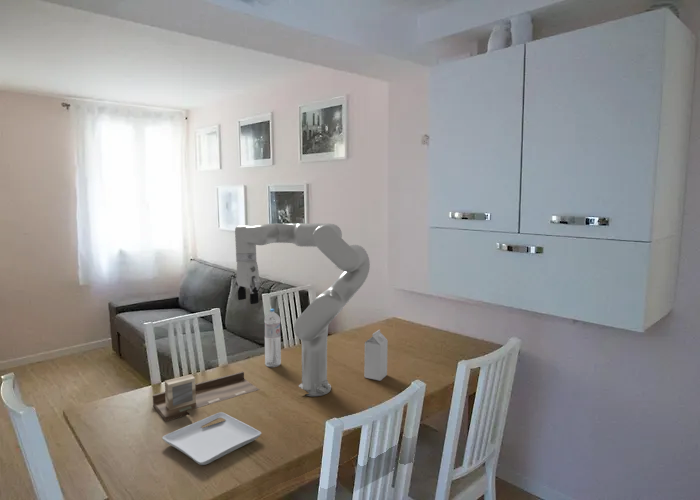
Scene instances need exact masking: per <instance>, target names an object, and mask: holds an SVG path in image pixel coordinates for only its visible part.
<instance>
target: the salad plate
mask: <svg viewBox="0 0 700 500" xmlns="http://www.w3.org/2000/svg"><path fill="white" fill-rule="evenodd" d="M218 419H223V421H220V422H217V423H214V424H210V425H207V424H209V423H211V422H213V421H214V420H218ZM205 425H207V426H205ZM203 426H204V427H203ZM261 435H262V432H261V431H260V430H259V429H256V428H254V427H253V426H252V425H249V424H247V423H245V422H243V421H241V420H239V419H237V418H235V417H233V416H231V415H229V414H227V413H225V412H223V411H220V412H216V413H215V414H212V415H209V416H207V417H205V418H203V419H201V420H198V421H196V422H193V423H191V424H189V425H186V426H183V427H181V428H179V429H177V430H173V431H172V432H169V433H167V434H165V435H163V436H162V437H161V439H162V440H163V441H164V442H165V443H166V444H167V445H169V446H171V447H173V448H175V449H177V450H178V451H180V452H182V454H184V455H186V456H187V457H188V458H190V459H191V460H193V461H194V462H195V463H197V464H198V465H200V466H206V465H208V464H210V463H212V462H214V461H216V460H219V459H221V458H222V457H224V456H226V455H228V454H230V453H231V452H234V451H235V450H237V449H240V448H242V447H244V446H246V445H248V444H250V443H251V442H254V441H255V440H257V439H258V438H259V437H260V436H261Z"/></svg>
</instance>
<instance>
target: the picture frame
mask: <svg viewBox="0 0 700 500" xmlns="http://www.w3.org/2000/svg"><path fill="white" fill-rule="evenodd" d="M195 384H196V378H195V376H194V375H193V374H185V375H183V376H182V375H181V376H180V377H173V378H171V379H166V380H164V392H165V399H166V407H167V408H168V409H169V410H172V409H175V408H179V407H182V406H186V405H189V404H193V403H196V389H195Z"/></svg>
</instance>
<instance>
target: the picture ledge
mask: <svg viewBox="0 0 700 500" xmlns="http://www.w3.org/2000/svg"><path fill="white" fill-rule="evenodd" d="M195 389H196V403H193V404H189V405H186V406H182V407H179V408H175V409H172V410H169V409H168V408H167V407H166V399H165V391H162V392H160V393H154V394H152V404H153V405H152V407H154V408H155V410H156V411H157V412H158V414H159V415H160V416H161V418H162V419H163V420H164V422H169V421H172V420H175V419H178V418H182V417H185V416H189V415H190V412H188V411H191V410H195V409H198V408H201V407H206V406H209V405H211V404H212V405H213V404H216V403H219V402H222V401H226V400H229V399H232V398H236V397H239V396H242V395H245V394H249V393H253V392H256V391H260V389H259V388H258V387H257V386H255V385H254V384H252V382H250V381H248V380H247V379H246V378H245V372H244V371H240V372H236V373H232V374H229V375H228V374H227V375H224V376H221V377H217V378H213V379H212V378H211V379H209V380H206V381H202V382H197V383H195Z"/></svg>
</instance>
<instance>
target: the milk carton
mask: <svg viewBox="0 0 700 500" xmlns="http://www.w3.org/2000/svg"><path fill="white" fill-rule="evenodd" d="M388 342H389V341H388V339H387V338H386V336H385V335H384V334H383V333H382V332H381V329H378V330H377V331H374V332H373V333H372V335H371V337H370V338H369V339H367V340H366V341H365V342H364V369H363V370H364V371H363V373H364V374H363V375H364V379H370V380H374V381H382V380H383V379H384V378H386V376H387V375H388Z"/></svg>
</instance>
